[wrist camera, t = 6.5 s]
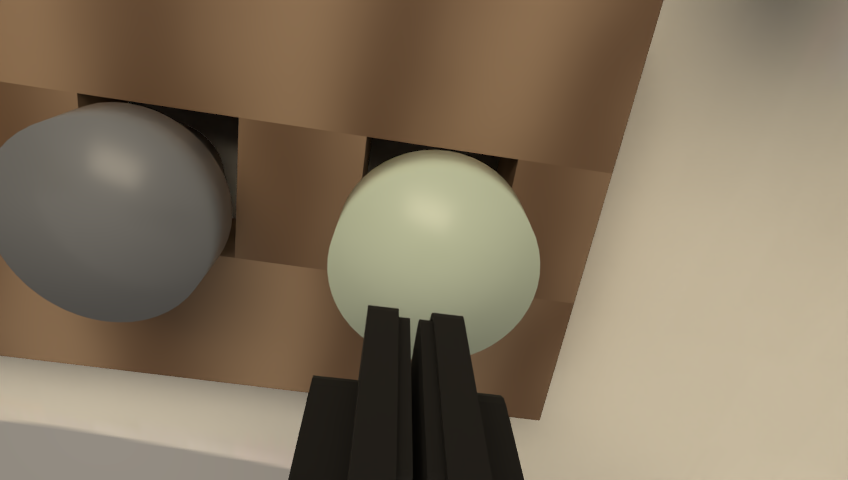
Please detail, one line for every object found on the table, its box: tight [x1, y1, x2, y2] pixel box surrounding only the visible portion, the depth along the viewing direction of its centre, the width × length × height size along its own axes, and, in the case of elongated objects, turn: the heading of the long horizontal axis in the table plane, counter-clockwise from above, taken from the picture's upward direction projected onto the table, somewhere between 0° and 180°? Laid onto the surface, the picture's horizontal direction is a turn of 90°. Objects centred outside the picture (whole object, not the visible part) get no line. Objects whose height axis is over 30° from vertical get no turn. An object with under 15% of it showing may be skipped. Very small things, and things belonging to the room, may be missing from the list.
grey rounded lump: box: [0, 102, 232, 322], centre depth 16 cm, size 5×5×5 cm
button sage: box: [327, 150, 540, 359], centre depth 16 cm, size 5×5×5 cm
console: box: [0, 0, 663, 420], centre depth 18 cm, size 26×14×3 cm, turn 81°
